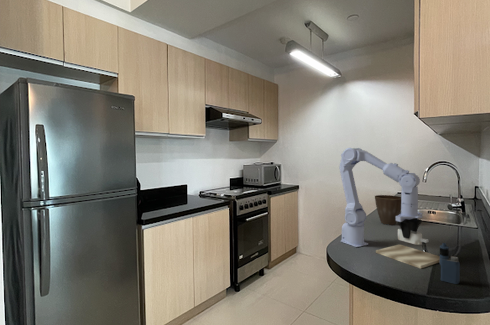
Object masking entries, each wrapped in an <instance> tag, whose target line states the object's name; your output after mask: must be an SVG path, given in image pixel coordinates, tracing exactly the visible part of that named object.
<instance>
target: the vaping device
mask: <svg viewBox="0 0 490 325" xmlns="http://www.w3.org/2000/svg"><path fill="white" fill-rule="evenodd" d="M449 249H450V247H449V246H448V245H447V243H446V242H442V244H441V245H439V256H440V257H439V258H440V261H439V266H440V281H441V282H445V283H449V284H454V285H459V283H460V279H461V278H460V276H461V274H460V273H461V272H460V271H461V264H460V261H459V257H458V256H456V255H454V256H453V255H450V252H449V251H450V250H449ZM449 256H450V257H449Z"/></svg>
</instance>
